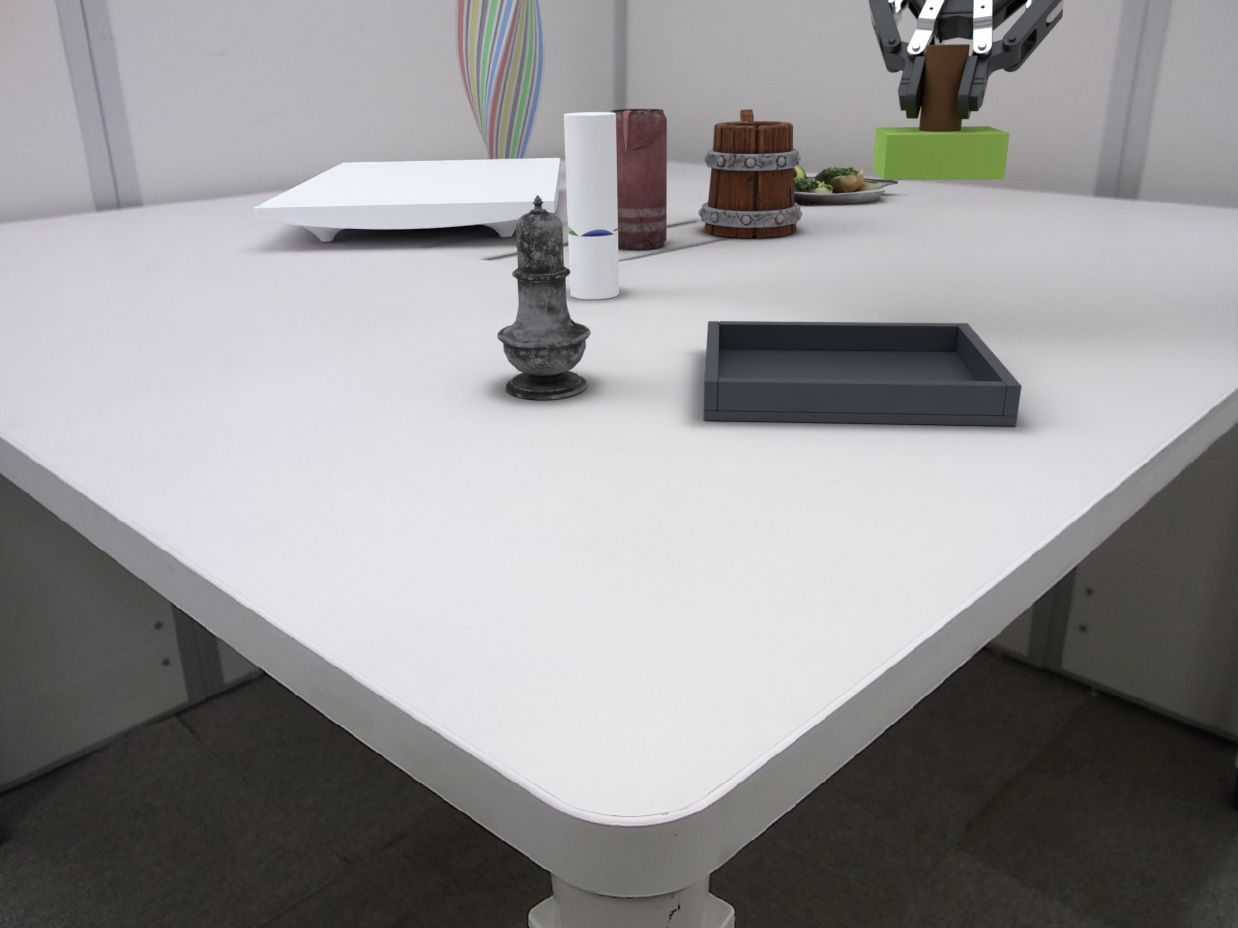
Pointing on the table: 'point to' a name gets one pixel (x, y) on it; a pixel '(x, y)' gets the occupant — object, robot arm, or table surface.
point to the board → (417, 195)
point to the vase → (501, 70)
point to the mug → (751, 179)
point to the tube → (592, 204)
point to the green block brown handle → (941, 131)
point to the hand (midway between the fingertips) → (937, 109)
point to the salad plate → (836, 187)
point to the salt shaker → (543, 314)
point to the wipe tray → (855, 374)
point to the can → (641, 178)
